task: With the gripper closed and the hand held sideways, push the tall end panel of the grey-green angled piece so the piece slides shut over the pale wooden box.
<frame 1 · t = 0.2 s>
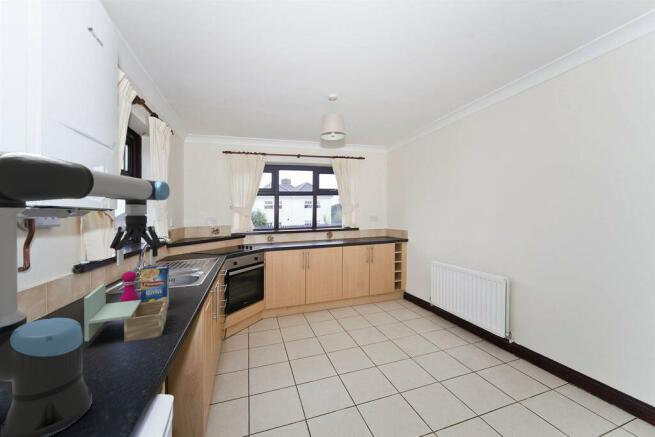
hand: (136, 264, 111), 27 cm above the countertop, tool pointing down, fingers open, 13 cm apart
blue food box: (155, 310, 131), on the countertop
wooden box: (147, 329, 110), on the countertop
pepper mill: (129, 307, 135), on the countertop
grey-green angled piece: (115, 307, 105), point 11 cm above the countertop, slide at 10.0 cm
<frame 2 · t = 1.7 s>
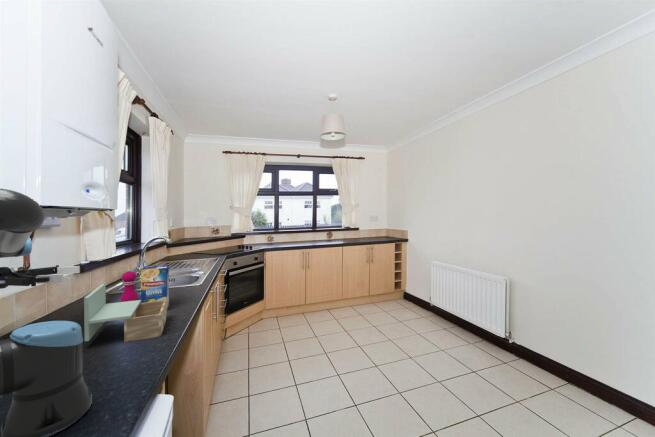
hand: (71, 273, 99), 26 cm above the countertop, tool horizontal, fingers open, 13 cm apart
nothing on the countertop moved.
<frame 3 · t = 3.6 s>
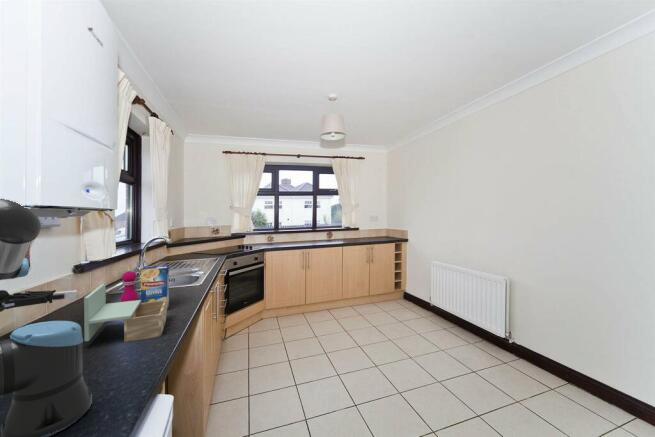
hand: (77, 294, 100), 18 cm above the countertop, tool horizontal, fingers closed
nothing on the countertop moved.
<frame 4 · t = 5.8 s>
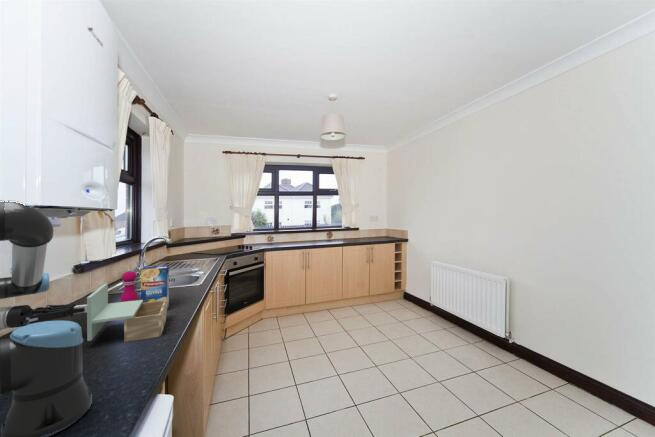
hand: (96, 307, 103), 12 cm above the countertop, tool horizontal, fingers closed
grey-green angled piece: (118, 307, 106), point 11 cm above the countertop, slide at 9.2 cm, touching gripper
everything else where it was.
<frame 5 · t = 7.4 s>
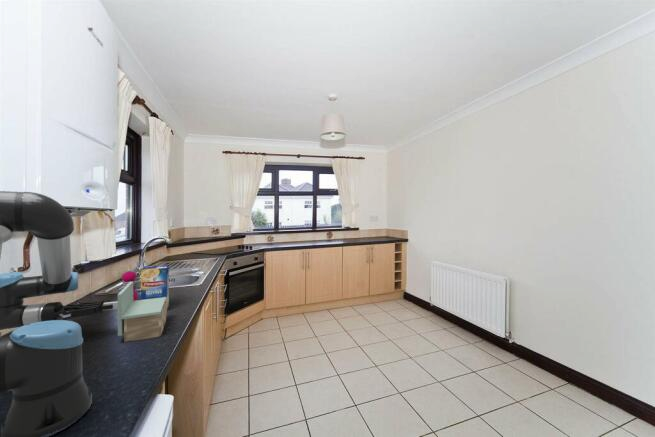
hand: (123, 304, 107), 12 cm above the countertop, tool horizontal, fingers closed
grey-green angled piece: (144, 304, 109), point 11 cm above the countertop, slide at 0.4 cm, touching gripper
everything else where it was.
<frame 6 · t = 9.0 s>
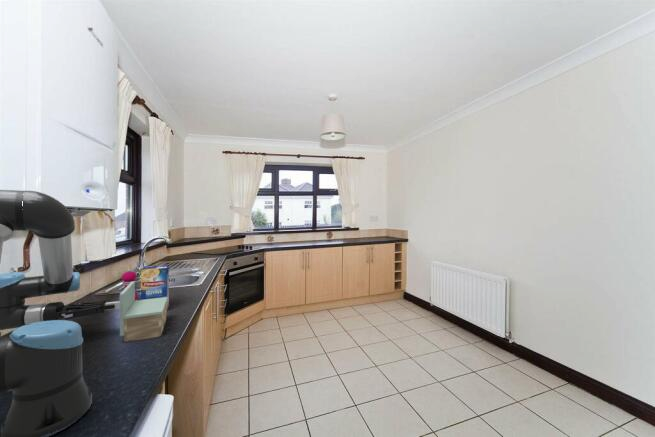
hand: (125, 304, 107), 12 cm above the countertop, tool horizontal, fingers closed
grey-green angled piece: (146, 304, 110), point 11 cm above the countertop, slide at -0.2 cm, touching gripper
everything else where it was.
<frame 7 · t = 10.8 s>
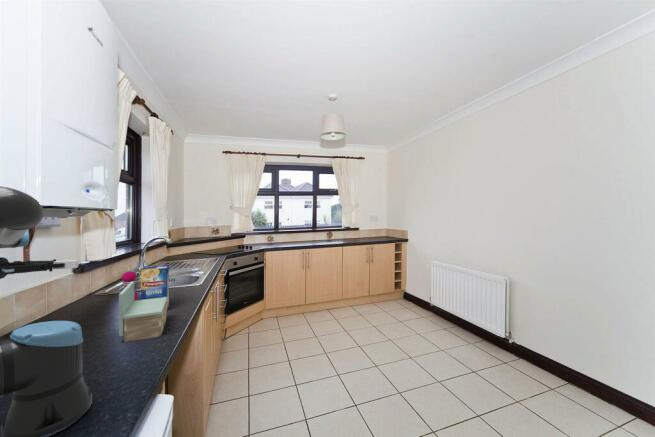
hand: (77, 263, 99), 30 cm above the countertop, tool horizontal, fingers closed
grey-green angled piece: (145, 304, 110), point 11 cm above the countertop, slide at 0.0 cm
everything else where it was.
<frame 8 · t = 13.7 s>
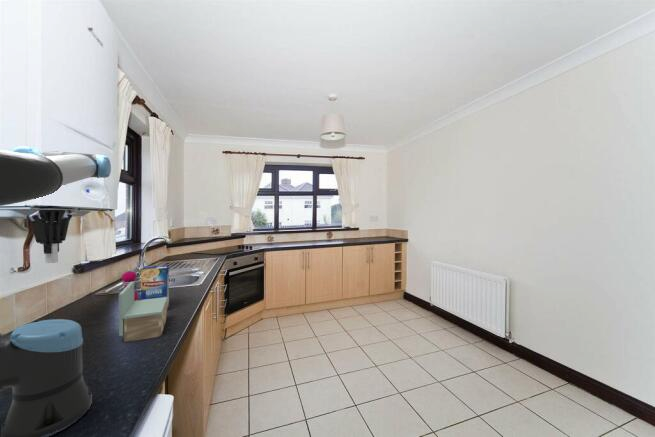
hand: (51, 262, 90), 32 cm above the countertop, tool pointing down, fingers closed
nothing on the countertop moved.
at the end: grey-green angled piece slide at 0.0 cm; blue food box moved 0.2 cm from its start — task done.
